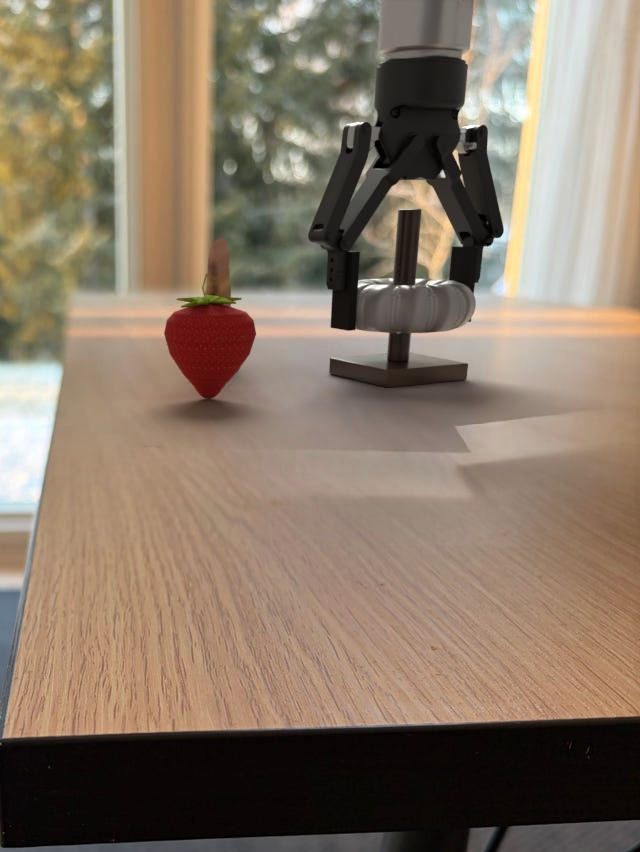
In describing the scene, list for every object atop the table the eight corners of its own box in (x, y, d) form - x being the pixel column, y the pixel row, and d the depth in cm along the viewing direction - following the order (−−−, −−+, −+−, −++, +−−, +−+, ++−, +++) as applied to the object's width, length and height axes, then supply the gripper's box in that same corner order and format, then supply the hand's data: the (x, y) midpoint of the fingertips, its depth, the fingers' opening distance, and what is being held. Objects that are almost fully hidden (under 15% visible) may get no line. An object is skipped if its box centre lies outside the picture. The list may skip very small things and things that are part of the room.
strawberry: (252, 406, 85) (256, 275, 81) (160, 404, 86) (159, 275, 82) (255, 393, 90) (259, 270, 87) (168, 392, 91) (168, 270, 87)
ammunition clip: (213, 362, 107) (214, 236, 103) (231, 363, 107) (233, 236, 102) (201, 379, 97) (202, 241, 93) (221, 380, 97) (223, 241, 93)
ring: (412, 317, 104) (415, 275, 103) (501, 330, 94) (506, 283, 92) (307, 325, 99) (308, 280, 98) (388, 339, 89) (392, 289, 87)
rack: (404, 367, 104) (417, 208, 98) (466, 380, 96) (485, 208, 91) (328, 373, 100) (337, 209, 95) (387, 387, 93) (401, 210, 87)
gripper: (503, 69, 96) (477, 313, 105) (273, 57, 86) (265, 328, 95) (565, 60, 90) (533, 320, 98) (325, 46, 80) (312, 337, 88)
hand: (401, 325), depth 96 cm, fingers closed on ring, 12 cm apart
